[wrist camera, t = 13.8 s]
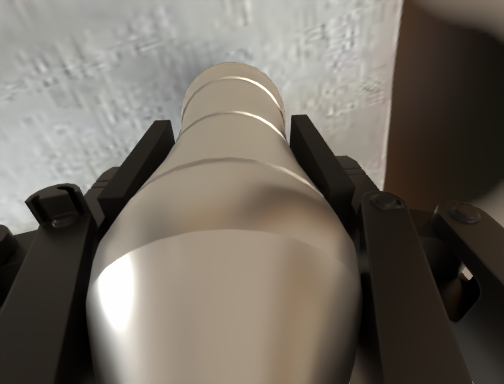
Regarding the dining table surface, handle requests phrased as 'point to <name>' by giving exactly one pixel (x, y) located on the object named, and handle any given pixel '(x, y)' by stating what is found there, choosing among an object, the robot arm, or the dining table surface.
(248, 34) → the dining table surface
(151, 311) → the plastic bottle
